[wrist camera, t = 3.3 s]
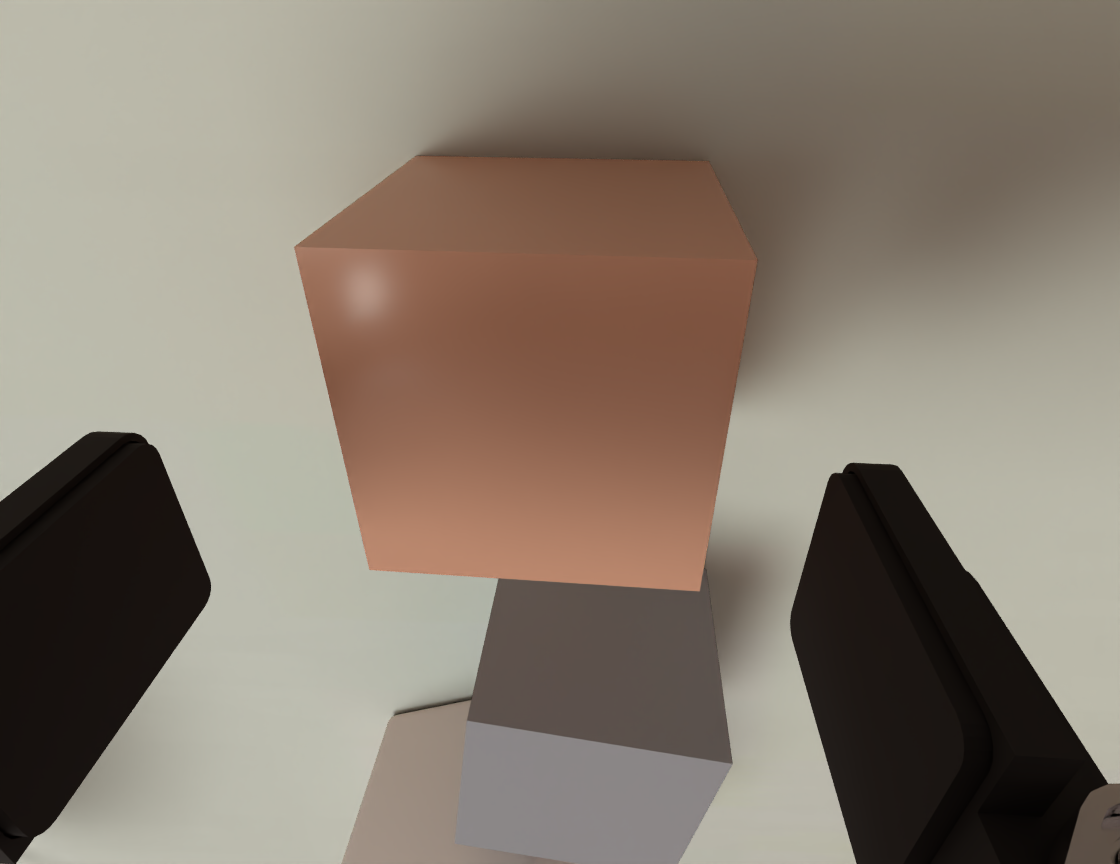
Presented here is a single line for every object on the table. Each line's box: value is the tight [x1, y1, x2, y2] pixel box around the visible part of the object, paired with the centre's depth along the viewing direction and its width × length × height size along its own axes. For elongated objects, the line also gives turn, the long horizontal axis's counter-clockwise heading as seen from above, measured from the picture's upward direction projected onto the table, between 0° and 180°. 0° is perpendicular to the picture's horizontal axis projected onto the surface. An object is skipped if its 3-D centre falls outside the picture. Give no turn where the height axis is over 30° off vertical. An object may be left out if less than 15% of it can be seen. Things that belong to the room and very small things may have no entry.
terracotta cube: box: [294, 156, 758, 591], centre depth 12 cm, size 6×6×6 cm
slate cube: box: [455, 569, 733, 864], centre depth 19 cm, size 6×6×6 cm
